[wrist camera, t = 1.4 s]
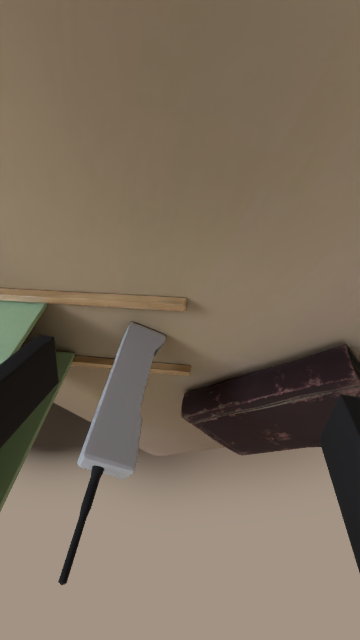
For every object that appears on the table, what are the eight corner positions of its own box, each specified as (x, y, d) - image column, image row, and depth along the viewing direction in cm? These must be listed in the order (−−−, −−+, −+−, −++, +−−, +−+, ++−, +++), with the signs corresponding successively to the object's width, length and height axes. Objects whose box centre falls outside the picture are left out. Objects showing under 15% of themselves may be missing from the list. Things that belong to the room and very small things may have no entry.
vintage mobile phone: (157, 348, 41) (96, 590, 24) (123, 335, 40) (34, 578, 23) (166, 334, 38) (106, 595, 21) (131, 320, 37) (37, 582, 20)
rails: (-46, 285, 37) (-53, 291, 36) (186, 297, 33) (185, 305, 32) (9, 353, 47) (5, 359, 47) (191, 369, 43) (190, 376, 42)
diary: (182, 388, 48) (178, 418, 44) (343, 338, 34) (354, 375, 30) (244, 433, 57) (244, 460, 53) (391, 407, 43) (404, 442, 39)
